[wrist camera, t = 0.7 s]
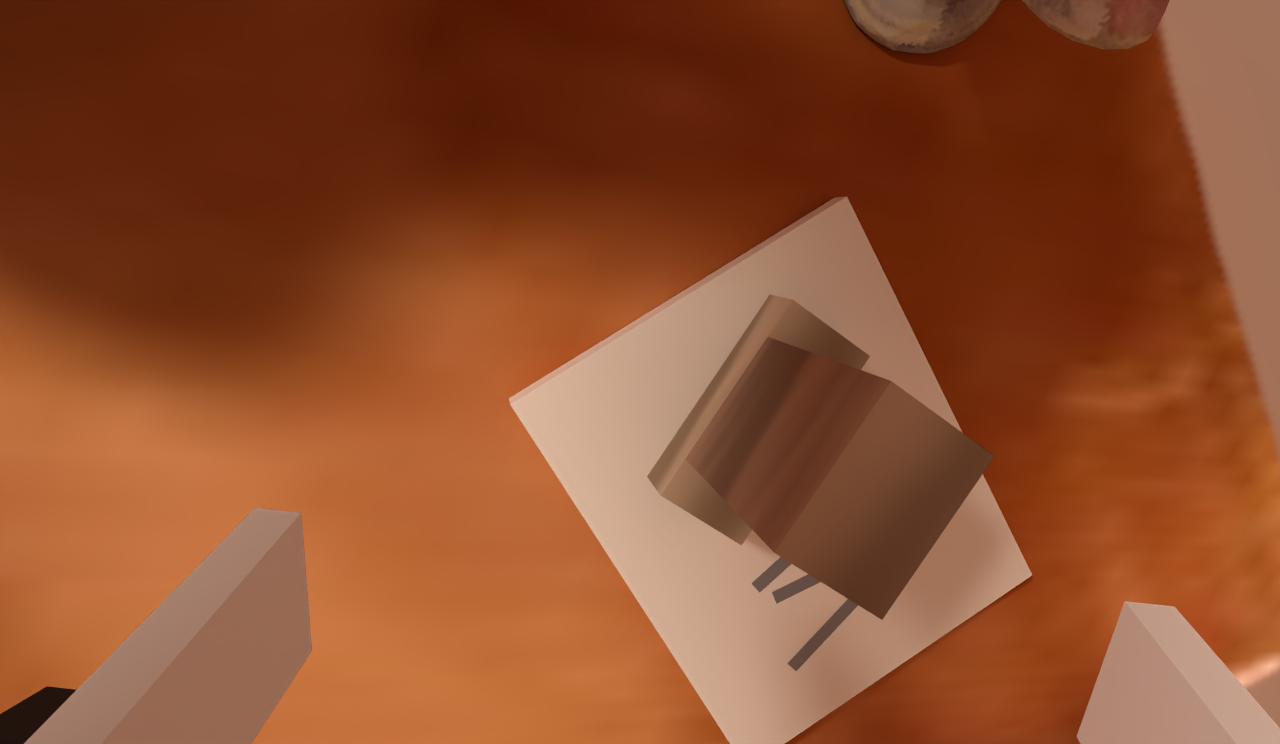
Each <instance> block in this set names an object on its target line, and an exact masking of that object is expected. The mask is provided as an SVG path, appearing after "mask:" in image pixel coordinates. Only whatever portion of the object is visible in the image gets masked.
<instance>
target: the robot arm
mask: <svg viewBox="0 0 1280 744" xmlns="http://www.w3.org/2000/svg"><path fill="white" fill-rule="evenodd" d="M311 651H312V644H311V631H310V618H309V605H308V592H307V580H306V567H305V554H304V541H303V528H302V515H301V513H298V512H289V511H279V510H270V509H261V508H254V509H253V510H252V511H251V512H250V513H249V514H248V515H247V516H246V517H245V518H244V519H243V520H242V522H241V523H240V524H239V525H238V526H237V527H236V528H235V529H234V530H233V531H232V532H231V533H230V534H229V535H228V536H227V537H226V538H225V539H224V540H223V541H222V542H221V543H220V544H219V545H218V546H217V547H216V548H215V549H214V550H213V551H212V552H211V553H210V554H209V555H208V556H207V557H206V558H205V559H204V560H203V561H202V562H201V563H200V564H199V565H198V566H197V567H196V568H195V570H194V571H193V572H192V573H191V574H190V575H189V576H188V577H187V578H186V579H185V580H184V581H183V582H182V583H181V584H180V585H179V586H178V587H177V588H176V589H175V590H174V591H173V592H172V593H171V594H170V595H169V596H168V597H167V598H166V599H165V600H164V601H163V602H162V603H161V604H160V605H159V606H158V607H157V608H156V609H155V610H154V611H153V612H152V613H151V614H150V615H149V616H148V618H147V619H146V620H145V621H144V622H143V623H142V624H141V625H140V626H139V627H138V628H137V629H136V630H135V631H134V632H133V633H132V634H131V635H130V636H129V637H128V638H127V639H126V640H125V641H124V642H123V643H122V644H121V645H120V646H119V647H118V648H117V649H116V650H115V651H114V652H113V653H112V654H111V655H110V656H109V657H108V658H107V659H106V660H105V661H104V662H103V663H102V664H101V665H100V667H99V668H98V669H97V670H96V671H95V672H94V673H93V674H92V675H91V676H90V677H89V678H88V679H87V680H86V681H85V682H84V683H83V684H82V685H81V686H80V687H79V688H78V689H77V690H73V689H64V688H56V687H45V688H44V689H42V690H40V691H39V692H37V693H35V694H34V695H32V696H30V697H28V698H27V699H25V700H23V701H22V702H20V703H18V704H17V705H15V706H13V707H12V708H10V709H8V710H7V711H5V712H3V713H2V714H0V744H252V742H253V741H254V739H255V738H256V736H257V734H258V733H259V731H260V730H261V728H262V727H263V725H264V724H265V722H266V721H267V719H268V718H269V716H270V714H271V713H272V711H273V710H274V708H275V707H276V705H277V704H278V702H279V701H280V699H281V697H282V696H283V694H284V693H285V691H286V690H287V688H288V687H289V685H290V684H291V682H292V681H293V679H294V677H295V676H296V674H297V673H298V671H299V670H300V668H301V667H302V665H303V664H304V662H305V660H306V659H307V657H308V656H309V654H310V653H311ZM1077 738H1078V740H1079V742H1080V744H1280V728H1279V727H1278V726H1277V725H1276V724H1275V722H1274V721H1273V720H1272V719H1271V718H1270V717H1269V715H1268V714H1267V713H1266V712H1265V711H1264V710H1263V709H1262V707H1261V706H1260V705H1259V704H1258V703H1257V701H1256V700H1255V699H1254V698H1253V697H1252V696H1251V695H1250V693H1249V692H1248V691H1247V690H1246V689H1245V688H1244V686H1243V685H1242V684H1241V683H1240V682H1239V681H1238V679H1237V678H1236V677H1235V676H1234V675H1233V674H1232V673H1231V671H1230V670H1229V669H1228V668H1227V667H1226V666H1225V664H1224V663H1223V662H1222V661H1221V660H1220V659H1219V657H1218V656H1217V655H1216V654H1215V653H1214V652H1213V651H1212V649H1211V648H1210V647H1209V646H1208V645H1207V644H1206V642H1205V641H1204V640H1203V639H1202V638H1201V637H1200V636H1199V634H1198V633H1197V632H1196V631H1195V630H1194V629H1193V627H1192V626H1191V625H1190V624H1189V623H1188V622H1187V620H1186V619H1185V618H1184V617H1183V616H1182V615H1181V614H1180V612H1179V611H1178V610H1177V609H1176V608H1175V607H1174V606H1164V605H1155V604H1146V603H1136V602H1127V601H1125V602H1124V605H1123V608H1122V611H1121V613H1120V616H1119V619H1118V622H1117V625H1116V627H1115V630H1114V633H1113V636H1112V639H1111V641H1110V644H1109V647H1108V650H1107V653H1106V655H1105V658H1104V661H1103V664H1102V667H1101V669H1100V672H1099V675H1098V678H1097V681H1096V683H1095V686H1094V689H1093V692H1092V695H1091V697H1090V700H1089V703H1088V706H1087V709H1086V711H1085V714H1084V717H1083V720H1082V723H1081V725H1080V728H1079V731H1078V734H1077Z"/></svg>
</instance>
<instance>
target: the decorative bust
mask: <svg viewBox="0 0 1280 744" xmlns="http://www.w3.org/2000/svg"><path fill="white" fill-rule="evenodd" d="M844 1H845V3H846V6H847V8H848V10H849V13H850V14H851V16H852V18H853V20H854V21H855V23H856V24H857V25H858V26H859V27H860V28H861V29H862V30H863V31H864V32H865V33H866V34H867V35H868V36H870V37H871V38H872V39H874V40H875V41H876V42H878V43H880V44H882V45H883V46H885V47H887V48H889V49H891V50H893V51H903V52H908V53H934V52H937V51H940V50H943V49H946V48H949V47H952V46H954V45H955V44H957V43H959V42H961V41H963V40H964V39H966V38H967V37H969V36H970V35H971V34H973V33H974V32H975V31H976V30H978V29H979V28H980V27H981V26H982V25H983V24H984V23H985V22H986V21H987V20H988V18H989V17H990V16H991V15H992V14H993V12H994V11H995V10H996V9H997V7H998V5H999V3H1000V1H1001V0H844ZM1022 1H1023V2H1024V3H1025V4H1026V6H1027V7H1028V8H1029V9H1030V10H1031V11H1032V12H1033V13H1034V14H1035V15H1036V16H1037V17H1038V18H1039V19H1040V20H1041V21H1042V22H1043V23H1044V24H1045V25H1046V26H1047V27H1049V28H1051V29H1053V30H1054V31H1056V32H1058V33H1059V34H1061V35H1063V36H1065V37H1066V38H1068V39H1070V40H1072V41H1075V42H1078V43H1082V44H1085V45H1088V46H1092V47H1096V48H1099V49H1129V48H1131V47H1134V46H1136V45H1138V44H1141V43H1143V42H1146V41H1147V40H1148V39H1149V38H1150V37H1151V35H1152V34H1153V32H1154V31H1155V29H1156V27H1157V25H1158V23H1159V22H1160V20H1161V18H1162V16H1163V14H1164V12H1165V10H1166V7H1167V5H1168V3H1169V0H1022Z"/></svg>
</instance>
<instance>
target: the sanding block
mask: <svg viewBox="0 0 1280 744" xmlns="http://www.w3.org/2000/svg"><path fill="white" fill-rule="evenodd" d="M869 357H870V356H869V355H868V354H867V353H865V352H864V351H862V350H861V349H860V348H858V347H857V346H856V345H854V344H853V343H852V342H850V341H849V340H847V339H846V338H845V337H843V336H842V335H841V334H839V333H838V332H837V331H835V330H834V329H832V328H831V327H830V326H828V325H827V324H826V323H824V322H823V321H822V320H820V319H819V318H817V317H816V316H815V315H813V314H812V313H811V312H809V311H808V310H806V309H805V308H804V307H802V306H801V305H800V304H798V303H797V302H796V301H794V300H793V299H788V298H783V297H779V296H774V295H769V296H768V298H767V299H766V301H765V302H764V304H763V305H762V307H761V308H760V310H759V311H758V313H757V314H756V316H755V317H754V319H753V320H752V322H751V323H750V325H749V326H748V328H747V329H746V330H745V332H744V333H743V335H742V336H741V338H740V339H739V341H738V342H737V344H736V345H735V347H734V348H733V350H732V351H731V353H730V354H729V356H728V357H727V359H726V360H725V362H724V363H723V365H722V366H721V368H720V369H719V371H718V372H717V373H716V375H715V376H714V378H713V379H712V381H711V382H710V384H709V385H708V387H707V388H706V390H705V391H704V393H703V394H702V396H701V397H700V399H699V400H698V402H697V403H696V405H695V406H694V408H693V409H692V411H691V412H690V414H689V415H688V416H687V418H686V419H685V421H684V422H683V424H682V425H681V427H680V428H679V430H678V431H677V433H676V434H675V436H674V437H673V439H672V440H671V442H670V443H669V445H668V446H667V448H666V449H665V451H664V452H663V454H662V455H661V457H660V458H659V459H658V461H657V462H656V464H655V465H654V467H653V468H652V470H651V471H650V473H649V474H648V476H647V477H648V479H649V480H650V482H651V483H652V484H653V486H654V487H655V489H656V490H657V491H658V493H659V494H660V495H661V496H662V497H664V498H665V499H667V500H669V501H670V502H672V503H673V504H675V505H677V506H678V507H680V508H682V509H683V510H685V511H686V512H688V513H690V514H691V515H693V516H695V517H696V518H698V519H699V520H701V521H703V522H704V523H706V524H707V525H709V526H711V527H712V528H714V529H716V530H717V531H719V532H720V533H722V534H724V535H725V536H727V537H729V538H730V539H732V540H733V541H735V542H737V543H738V544H740V545H741V546H742V544H743V543H744V541H745V540H746V538H747V537H748V535H749V534H750V532H751V531H752V530H753V531H754V532H755V533H756V534H757V535H758V536H759V537H760V538H761V539H762V540H763V542H764V543H765V544H766V545H767V546H768V547H769V548H770V549H771V550H772V551H773V552H774V553H775V554H777V555H778V556H780V557H782V558H783V559H785V560H786V561H788V562H790V563H791V564H793V565H794V566H796V567H798V568H799V569H801V570H803V571H804V572H806V573H807V574H809V575H811V576H812V577H814V578H815V579H817V580H819V581H820V582H822V583H823V584H825V585H827V586H828V587H830V588H831V589H833V590H835V591H836V592H838V593H839V594H841V595H843V596H844V597H846V598H847V599H849V600H851V601H852V602H854V603H856V604H857V605H859V606H860V607H862V608H864V609H865V610H867V611H868V612H870V613H872V614H873V615H875V616H876V617H878V618H880V619H881V620H883V618H884V617H885V615H886V614H887V612H888V611H889V609H890V608H891V607H892V605H893V604H894V602H895V601H896V599H897V598H898V596H899V595H900V593H901V592H902V591H903V589H904V588H905V586H906V585H907V583H908V582H909V580H910V579H911V577H912V576H913V575H914V573H915V572H916V570H917V569H918V567H919V566H920V564H921V563H922V561H923V560H924V559H925V557H926V556H927V554H928V553H929V551H930V550H931V548H932V547H933V545H934V544H935V543H936V541H937V540H938V538H939V537H940V535H941V534H942V532H943V531H944V530H945V528H946V527H947V525H948V524H949V522H950V521H951V519H952V518H953V516H954V515H955V514H956V512H957V511H958V509H959V508H960V506H961V505H962V503H963V502H964V500H965V499H966V498H967V496H968V495H969V493H970V492H971V490H972V489H973V487H974V486H975V484H976V483H977V482H978V480H979V479H980V477H981V476H982V474H983V473H984V471H985V470H986V468H987V467H988V466H989V464H990V463H991V461H992V460H993V458H994V457H995V456H994V455H992V454H991V453H990V452H988V451H987V450H985V449H984V448H983V447H981V446H980V445H979V444H977V443H976V442H974V441H973V440H972V439H970V438H969V437H968V436H966V435H965V434H963V433H962V432H961V431H959V430H958V429H957V428H955V427H954V426H952V425H951V424H950V423H948V422H947V421H946V420H944V419H943V418H941V417H940V416H939V415H937V414H936V413H935V412H933V411H932V410H930V409H929V408H928V407H926V406H925V405H924V404H922V403H921V402H919V401H918V400H917V399H915V398H914V397H913V396H911V395H910V394H908V393H907V392H906V391H904V390H903V389H902V388H900V387H899V386H897V385H896V384H895V383H893V382H892V381H890V380H887V379H884V378H882V377H879V376H876V375H873V374H870V373H868V372H865V371H862V370H861V369H862V368H863V366H864V365H865V363H866V362H867V360H868V359H869Z"/></svg>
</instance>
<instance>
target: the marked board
mask: <svg viewBox="0 0 1280 744" xmlns="http://www.w3.org/2000/svg"><path fill="white" fill-rule="evenodd" d="M769 295H774V296H779V297H783V298H788V299H793V300H794V301H796V302H797V303H798V304H800V305H801V306H802V307H804V308H805V309H806V310H808V311H809V312H811V313H812V314H813V315H815V316H816V317H817V318H819V319H820V320H822V321H823V322H824V323H826V324H827V325H828V326H830V327H831V328H832V329H834V330H835V331H837V332H838V333H839V334H841V335H842V336H843V337H845V338H846V339H847V340H849V341H850V342H852V343H853V344H854V345H856V346H857V347H858V348H860V349H861V350H862V351H864V352H865V353H867V354H868V355H869V356H870V357H869V359H868V360H867V362H866V363H865V365H864V366H863V368H862V369H861V370H862V371H865V372H868V373H870V374H873V375H876V376H879V377H882V378H884V379H887V380H890V381H892V382H893V383H895V384H896V385H897V386H899V387H900V388H902V389H903V390H904V391H906V392H907V393H908V394H910V395H911V396H913V397H914V398H915V399H917V400H918V401H919V402H921V403H922V404H924V405H925V406H926V407H928V408H929V409H930V410H932V411H933V412H935V413H936V414H937V415H939V416H940V417H941V418H943V419H944V420H946V421H947V422H948V423H950V424H951V425H952V426H954V427H955V428H957V429H958V430H959V431H961V432H962V430H961V428H960V426H959V424H958V422H957V420H956V418H955V416H954V414H953V412H952V410H951V408H950V406H949V404H948V402H947V400H946V398H945V396H944V394H943V392H942V390H941V388H940V385H939V383H938V381H937V379H936V377H935V375H934V373H933V371H932V369H931V367H930V365H929V363H928V361H927V359H926V357H925V355H924V353H923V351H922V349H921V347H920V345H919V343H918V341H917V338H916V336H915V334H914V332H913V330H912V328H911V326H910V324H909V322H908V320H907V318H906V316H905V314H904V312H903V310H902V308H901V306H900V304H899V302H898V300H897V298H896V296H895V294H894V292H893V289H892V287H891V285H890V283H889V281H888V279H887V277H886V275H885V273H884V271H883V269H882V267H881V265H880V263H879V261H878V259H877V257H876V255H875V253H874V251H873V249H872V247H871V245H870V242H869V240H868V238H867V236H866V234H865V232H864V230H863V228H862V226H861V224H860V222H859V220H858V218H857V216H856V214H855V212H854V210H853V208H852V206H851V204H850V202H849V200H848V198H847V196H846V197H835V198H833V199H831V200H830V201H828V202H826V203H825V204H823V205H822V206H820V207H818V208H817V209H815V210H813V211H812V212H810V213H809V214H807V215H805V216H804V217H802V218H800V219H799V220H797V221H796V222H794V223H792V224H791V225H789V226H788V227H786V228H784V229H783V230H781V231H779V232H778V233H776V234H775V235H773V236H771V237H770V238H768V239H766V240H765V241H763V242H762V243H760V244H758V245H757V246H755V247H753V248H752V249H750V250H749V251H747V252H745V253H744V254H742V255H740V256H739V257H737V258H736V259H734V260H732V261H731V262H729V263H728V264H726V265H724V266H723V267H721V268H719V269H718V270H716V271H715V272H713V273H711V274H710V275H708V276H706V277H705V278H703V279H702V280H700V281H698V282H697V283H695V284H693V285H692V286H690V287H689V288H687V289H685V290H684V291H682V292H681V293H679V294H677V295H676V296H674V297H672V298H671V299H669V300H668V301H666V302H664V303H663V304H661V305H659V306H658V307H656V308H655V309H653V310H651V311H650V312H648V313H646V314H645V315H643V316H642V317H640V318H638V319H637V320H635V321H634V322H632V323H630V324H629V325H627V326H625V327H624V328H622V329H621V330H619V331H617V332H616V333H614V334H612V335H611V336H609V337H608V338H606V339H604V340H603V341H601V342H599V343H598V344H596V345H595V346H593V347H591V348H590V349H588V350H586V351H585V352H583V353H582V354H580V355H578V356H577V357H575V358H574V359H572V360H570V361H569V362H567V363H565V364H564V365H562V366H561V367H559V368H557V369H556V370H554V371H552V372H551V373H549V374H548V375H546V376H544V377H543V378H541V379H539V380H538V381H536V382H535V383H533V384H531V385H530V386H528V387H527V388H525V389H523V390H522V391H520V392H518V393H517V394H515V395H514V396H512V397H510V398H509V401H510V405H511V406H512V408H513V409H514V411H515V413H516V414H517V416H518V417H519V419H520V420H521V422H522V423H523V425H524V426H525V428H526V429H527V431H528V433H529V434H530V436H531V437H532V439H533V440H534V442H535V443H536V445H537V446H538V448H539V450H540V451H541V453H542V454H543V456H544V457H545V459H546V460H547V462H548V463H549V465H550V467H551V468H552V470H553V471H554V473H555V474H556V476H557V477H558V479H559V480H560V482H561V483H562V485H563V487H564V488H565V490H566V491H567V493H568V494H569V496H570V497H571V499H572V500H573V502H574V504H575V505H576V507H577V508H578V510H579V511H580V513H581V514H582V516H583V517H584V519H585V521H586V522H587V524H588V525H589V527H590V528H591V530H592V531H593V533H594V534H595V536H596V537H597V539H598V541H599V542H600V544H601V545H602V547H603V548H604V550H605V551H606V553H607V554H608V556H609V558H610V559H611V561H612V562H613V564H614V565H615V567H616V568H617V570H618V571H619V573H620V575H621V576H622V578H623V579H624V581H625V582H626V584H627V585H628V587H629V588H630V590H631V591H632V593H633V595H634V596H635V598H636V599H637V601H638V602H639V604H640V605H641V607H642V608H643V610H644V612H645V613H646V615H647V616H648V618H649V619H650V621H651V622H652V624H653V625H654V627H655V629H656V630H657V632H658V633H659V635H660V636H661V638H662V639H663V641H664V642H665V644H666V645H667V647H668V649H669V650H670V652H671V653H672V655H673V656H674V658H675V659H676V661H677V662H678V664H679V666H680V667H681V669H682V670H683V672H684V673H685V675H686V676H687V678H688V679H689V681H690V683H691V684H692V686H693V687H694V689H695V690H696V692H697V693H698V695H699V696H700V698H701V699H702V701H703V703H704V704H705V706H706V707H707V709H708V710H709V712H710V713H711V715H712V716H713V718H714V720H715V721H716V723H717V724H718V726H719V727H720V729H721V730H722V732H723V733H724V735H725V737H726V738H727V740H728V741H729V743H730V744H785V743H786V742H788V741H789V740H791V739H792V738H794V737H795V736H797V735H798V734H800V733H801V732H802V731H804V730H805V729H807V728H808V727H810V726H811V725H813V724H814V723H816V722H817V721H819V720H820V719H822V718H823V717H825V716H826V715H827V714H829V713H830V712H832V711H833V710H835V709H836V708H838V707H839V706H841V705H842V704H844V703H845V702H847V701H848V700H850V699H851V698H852V697H854V696H855V695H857V694H858V693H860V692H861V691H863V690H864V689H866V688H867V687H869V686H870V685H872V684H873V683H875V682H876V681H877V680H879V679H880V678H882V677H883V676H885V675H886V674H888V673H889V672H891V671H892V670H894V669H895V668H897V667H898V666H900V665H901V664H902V663H904V662H905V661H907V660H908V659H910V658H911V657H913V656H914V655H916V654H917V653H919V652H920V651H922V650H923V649H925V648H926V647H927V646H929V645H930V644H932V643H933V642H935V641H936V640H938V639H939V638H941V637H942V636H944V635H945V634H947V633H948V632H949V631H951V630H952V629H954V628H955V627H957V626H958V625H960V624H961V623H963V622H964V621H966V620H967V619H969V618H970V617H972V616H973V615H974V614H976V613H977V612H979V611H980V610H982V609H983V608H985V607H986V606H988V605H989V604H991V603H992V602H994V601H995V600H997V599H998V598H999V597H1001V596H1002V595H1004V594H1005V593H1007V592H1008V591H1010V590H1011V589H1013V588H1014V587H1016V586H1017V585H1019V584H1020V583H1022V582H1023V581H1024V580H1026V579H1027V578H1029V577H1030V576H1032V573H1031V571H1030V569H1029V567H1028V565H1027V563H1026V561H1025V559H1024V557H1023V555H1022V553H1021V551H1020V549H1019V547H1018V545H1017V543H1016V541H1015V539H1014V537H1013V535H1012V533H1011V531H1010V529H1009V526H1008V524H1007V522H1006V520H1005V518H1004V516H1003V514H1002V512H1001V510H1000V508H999V506H998V504H997V502H996V500H995V498H994V496H993V494H992V492H991V490H990V488H989V486H988V484H987V482H986V479H985V477H984V475H983V474H982V476H981V477H980V479H979V480H978V482H977V483H976V484H975V486H974V487H973V489H972V490H971V492H970V493H969V495H968V496H967V498H966V499H965V500H964V502H963V503H962V505H961V506H960V508H959V509H958V511H957V512H956V514H955V515H954V516H953V518H952V519H951V521H950V522H949V524H948V525H947V527H946V528H945V530H944V531H943V532H942V534H941V535H940V537H939V538H938V540H937V541H936V543H935V544H934V545H933V547H932V548H931V550H930V551H929V553H928V554H927V556H926V557H925V559H924V560H923V561H922V563H921V564H920V566H919V567H918V569H917V570H916V572H915V573H914V575H913V576H912V577H911V579H910V580H909V582H908V583H907V585H906V586H905V588H904V589H903V591H902V592H901V593H900V595H899V596H898V598H897V599H896V601H895V602H894V604H893V605H892V607H891V608H890V609H889V611H888V612H887V614H886V615H885V617H884V618H883V620H881V619H880V618H878V617H876V616H875V615H873V614H872V613H870V612H868V611H867V610H865V609H864V608H862V607H860V606H859V605H857V604H856V603H854V602H852V601H851V600H849V599H847V598H846V597H844V596H843V595H841V594H839V593H838V592H836V591H835V590H833V589H831V588H830V587H828V586H827V585H825V584H823V583H822V582H820V581H819V580H817V579H815V578H814V577H812V576H811V575H809V574H807V573H806V572H804V571H803V570H801V569H799V568H798V567H796V566H794V565H793V564H791V563H790V562H788V561H786V560H785V559H783V558H782V557H780V556H778V555H777V554H775V553H774V552H773V551H772V550H771V549H770V548H769V547H768V546H767V545H766V544H765V543H764V542H763V540H762V539H761V538H760V537H759V536H758V535H757V534H756V533H755V532H754V531H753V530H752V531H751V532H750V534H749V535H748V537H747V538H746V540H745V541H744V543H743V544H742V546H741V545H740V544H738V543H737V542H735V541H733V540H732V539H730V538H729V537H727V536H725V535H724V534H722V533H720V532H719V531H717V530H716V529H714V528H712V527H711V526H709V525H707V524H706V523H704V522H703V521H701V520H699V519H698V518H696V517H695V516H693V515H691V514H690V513H688V512H686V511H685V510H683V509H682V508H680V507H678V506H677V505H675V504H673V503H672V502H670V501H669V500H667V499H665V498H664V497H662V496H661V495H660V494H659V493H658V491H657V490H656V489H655V487H654V486H653V484H652V483H651V482H650V480H649V479H648V477H647V476H648V474H649V473H650V471H651V470H652V468H653V467H654V465H655V464H656V462H657V461H658V459H659V458H660V457H661V455H662V454H663V452H664V451H665V449H666V448H667V446H668V445H669V443H670V442H671V440H672V439H673V437H674V436H675V434H676V433H677V431H678V430H679V428H680V427H681V425H682V424H683V422H684V421H685V419H686V418H687V416H688V415H689V414H690V412H691V411H692V409H693V408H694V406H695V405H696V403H697V402H698V400H699V399H700V397H701V396H702V394H703V393H704V391H705V390H706V388H707V387H708V385H709V384H710V382H711V381H712V379H713V378H714V376H715V375H716V373H717V372H718V371H719V369H720V368H721V366H722V365H723V363H724V362H725V360H726V359H727V357H728V356H729V354H730V353H731V351H732V350H733V348H734V347H735V345H736V344H737V342H738V341H739V339H740V338H741V336H742V335H743V333H744V332H745V330H746V329H747V328H748V326H749V325H750V323H751V322H752V320H753V319H754V317H755V316H756V314H757V313H758V311H759V310H760V308H761V307H762V305H763V304H764V302H765V301H766V299H767V298H768V296H769ZM962 433H963V432H962Z"/></svg>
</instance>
